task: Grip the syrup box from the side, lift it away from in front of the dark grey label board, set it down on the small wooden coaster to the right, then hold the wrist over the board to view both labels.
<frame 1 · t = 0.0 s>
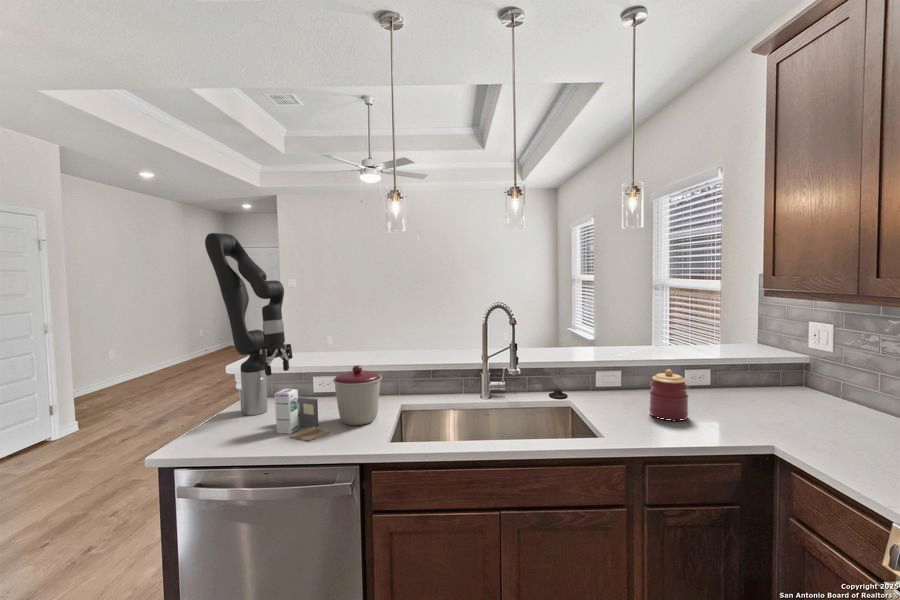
hand: (277, 372, 169), 17 cm above the worktop, tool pointing down, fingers open, 8 cm apart
syrup box: (288, 431, 154), on the worktop
canister: (358, 421, 163), on the worktop
label board: (303, 424, 161), on the worktop
coaster: (309, 434, 149), on the worktop
canister 2: (668, 416, 162), on the worktop
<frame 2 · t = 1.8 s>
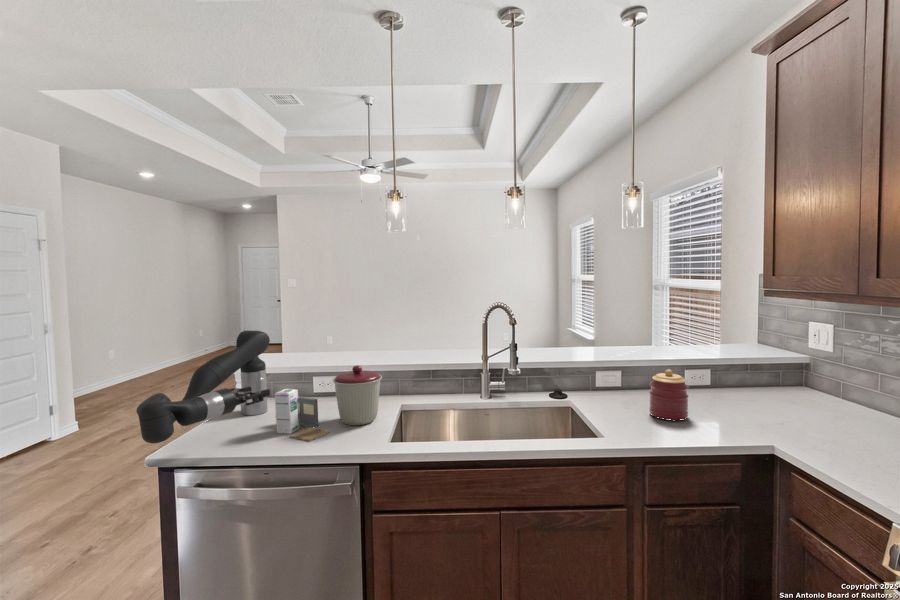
hand: (260, 390, 143), 17 cm above the worktop, tool horizontal, fingers open, 8 cm apart
nothing on the worktop moved.
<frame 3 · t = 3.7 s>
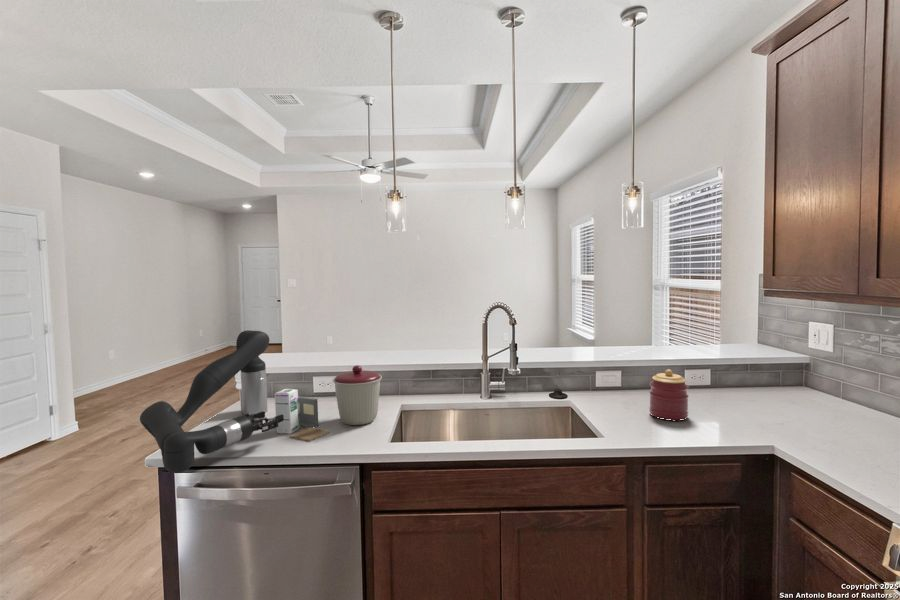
hand: (273, 415, 148), 7 cm above the worktop, tool horizontal, fingers open, 8 cm apart
nothing on the worktop moved.
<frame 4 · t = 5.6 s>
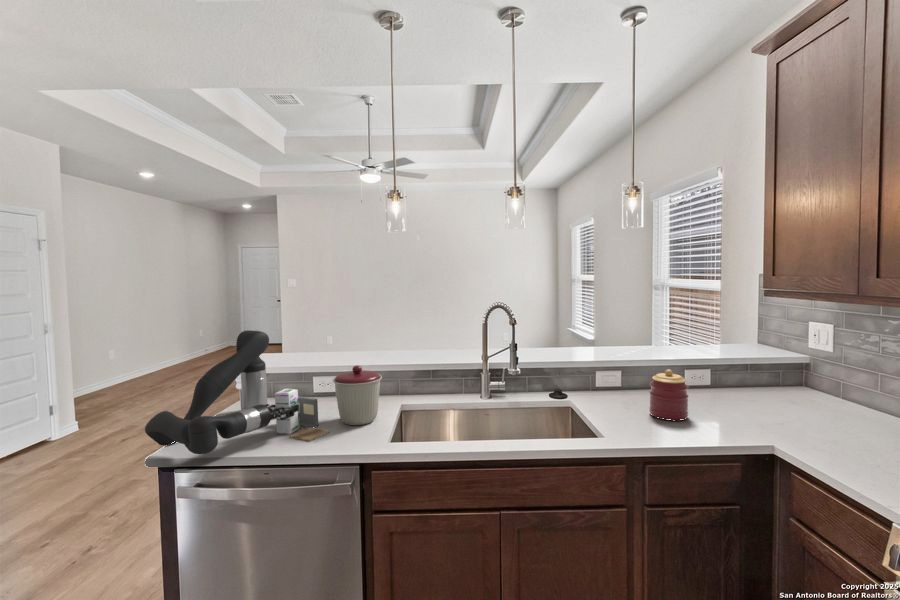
hand: (290, 406, 155), 8 cm above the worktop, tool horizontal, fingers closed on syrup box, 6 cm apart
syrup box: (288, 431, 154), on the worktop, touching gripper
everything else where it was.
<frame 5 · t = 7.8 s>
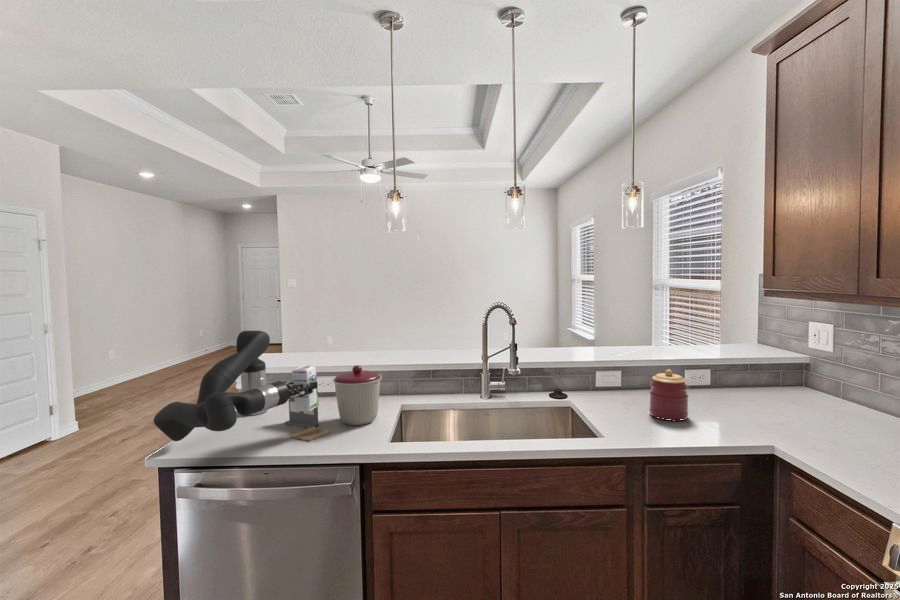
hand: (308, 383, 150), 18 cm above the worktop, tool horizontal, fingers closed on syrup box, 6 cm apart
syrup box: (307, 409, 149), point 9 cm above the worktop, touching gripper
everything else where it was.
when the fingers open (10 cm above the worktop, at t = 10.0 s): syrup box stays where it is, resting on coaster.
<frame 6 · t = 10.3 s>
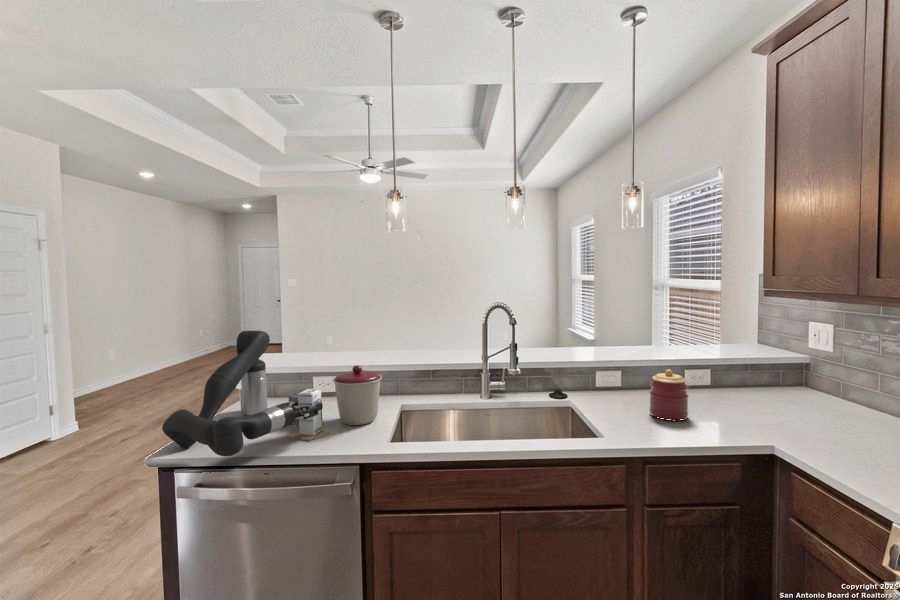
hand: (312, 404, 150), 10 cm above the worktop, tool horizontal, fingers open, 8 cm apart
syrup box: (311, 432, 150), resting on coaster
everything else where it was.
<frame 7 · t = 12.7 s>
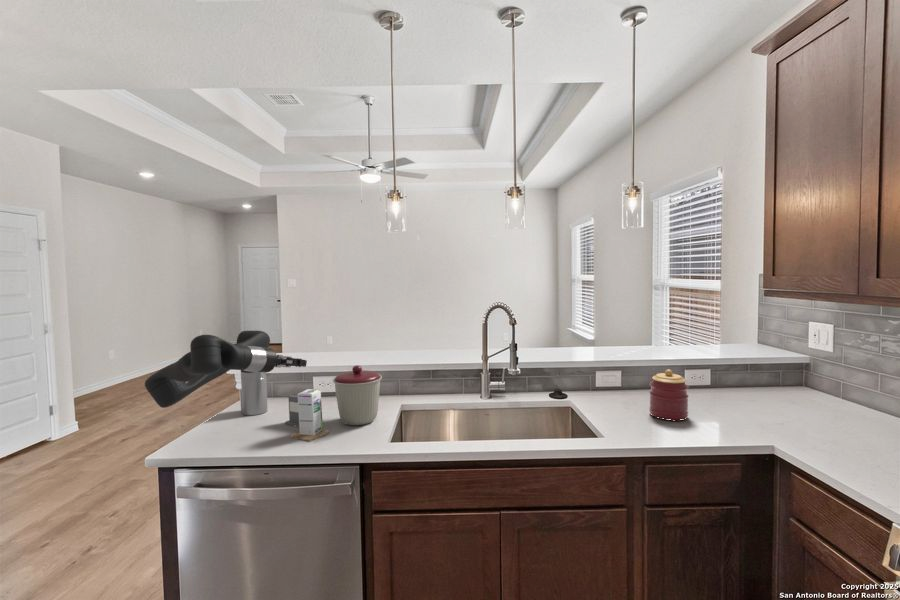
hand: (296, 362, 144), 26 cm above the worktop, tool horizontal, fingers open, 8 cm apart
nothing on the worktop moved.
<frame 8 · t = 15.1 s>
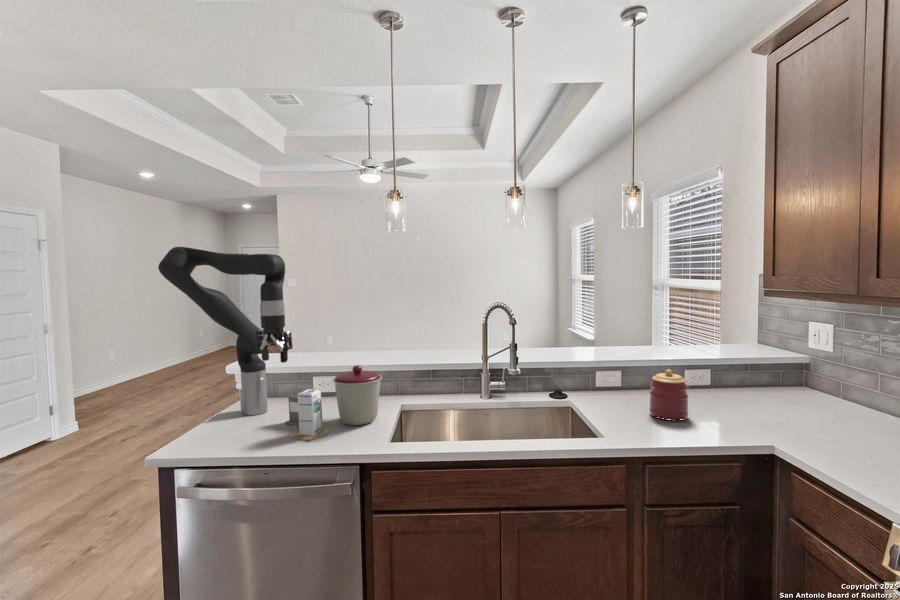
hand: (274, 361, 147), 26 cm above the worktop, tool pointing down, fingers open, 8 cm apart
nothing on the worktop moved.
at the end: syrup box inside the target area on the coaster (0.7 cm from its centre), point 0.4 cm above the coaster's base; syrup box tilted 0°; the gripper is holding nothing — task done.
